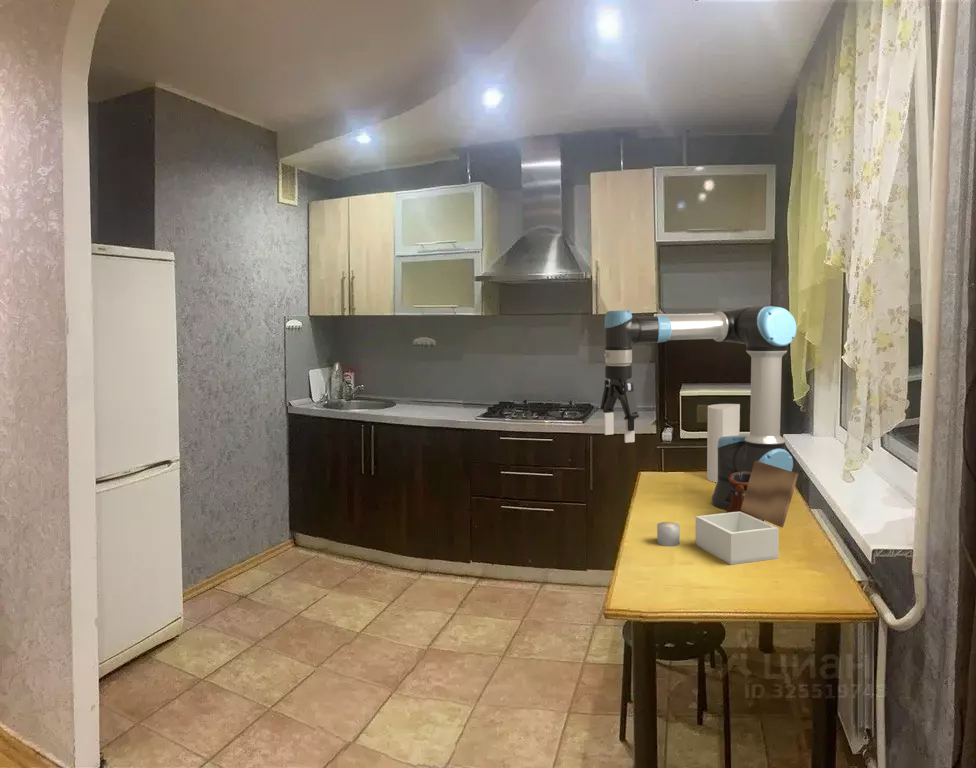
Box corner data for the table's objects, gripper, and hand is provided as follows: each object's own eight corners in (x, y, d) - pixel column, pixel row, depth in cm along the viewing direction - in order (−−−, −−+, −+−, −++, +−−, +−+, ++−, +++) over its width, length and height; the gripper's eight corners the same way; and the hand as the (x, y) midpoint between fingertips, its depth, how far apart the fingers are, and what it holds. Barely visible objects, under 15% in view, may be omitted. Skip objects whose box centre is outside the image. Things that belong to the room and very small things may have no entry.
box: (739, 539, 188) (740, 511, 188) (778, 558, 173) (778, 528, 172) (695, 544, 185) (695, 516, 184) (730, 564, 169) (731, 533, 169)
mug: (760, 537, 189) (760, 485, 188) (717, 533, 195) (717, 482, 193) (765, 519, 205) (766, 471, 204) (726, 515, 211) (726, 468, 209)
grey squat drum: (672, 538, 191) (672, 520, 190) (683, 544, 185) (683, 526, 184) (653, 540, 189) (653, 522, 189) (664, 547, 183) (664, 529, 183)
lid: (740, 510, 188) (744, 511, 188) (780, 527, 172) (784, 528, 172) (754, 460, 188) (759, 461, 188) (796, 473, 172) (800, 474, 172)
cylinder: (699, 481, 255) (700, 408, 252) (717, 472, 268) (717, 402, 266) (745, 487, 244) (746, 411, 241) (761, 478, 257) (762, 405, 254)
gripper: (589, 362, 203) (589, 432, 205) (625, 368, 179) (626, 446, 181) (612, 361, 205) (612, 430, 207) (651, 366, 181) (651, 444, 183)
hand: (619, 438), depth 194 cm, fingers open, 13 cm apart
